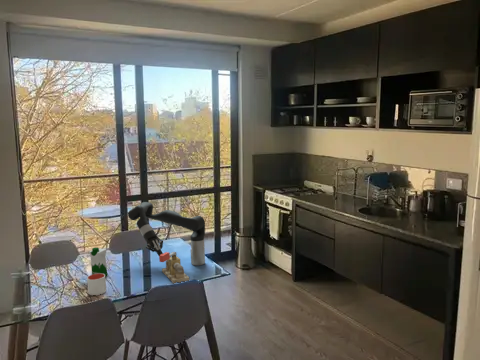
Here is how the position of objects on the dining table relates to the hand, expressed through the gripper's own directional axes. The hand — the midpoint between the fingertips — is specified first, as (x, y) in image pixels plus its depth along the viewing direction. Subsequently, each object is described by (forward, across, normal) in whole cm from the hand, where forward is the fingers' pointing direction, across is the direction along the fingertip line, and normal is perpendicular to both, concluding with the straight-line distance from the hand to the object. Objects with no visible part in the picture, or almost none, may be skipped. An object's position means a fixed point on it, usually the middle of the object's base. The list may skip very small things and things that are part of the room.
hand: (161, 255), depth 255 cm
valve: (+11, -11, -12) cm, 19 cm away
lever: (+3, -5, -1) cm, 6 cm away
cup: (0, +34, -24) cm, 42 cm away
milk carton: (-15, +20, -39) cm, 46 cm away
